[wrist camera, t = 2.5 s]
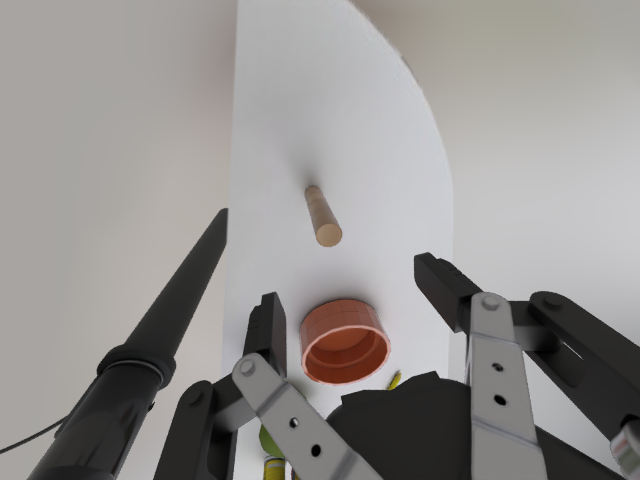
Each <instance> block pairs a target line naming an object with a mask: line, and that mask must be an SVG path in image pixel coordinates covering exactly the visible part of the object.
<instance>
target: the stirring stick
mask: <svg viewBox="0 0 640 480" xmlns="http://www.w3.org/2000/svg"><path fill="white" fill-rule="evenodd" d="M305 198H306V202H307V206H308V209H309V213H310V217H311V221H312V224H313V228H314V232H315V236H316V239H317V241H318V243H319V244H320V245H322V246H324V247H332V246H335V245H336V244H338V243H339V242H340V240H341V238H342V230H341V228H340V226H339V224H338V222H337V220H336V218H335V216H334V214H333V213H332V211H331V209H330V207H329V205H328V203H327V201H326V199H325V197H324V195H323V193H322V191H321V190H320V188H318V187H317V186H311V187H309V188H307V190H306V191H305Z"/></svg>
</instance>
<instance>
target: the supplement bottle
mask: <svg viewBox="0 0 640 480" xmlns="http://www.w3.org/2000/svg"><path fill="white" fill-rule="evenodd" d="M263 480H285V457H283V458H279V457H274V456H269V457H267V458H266V459H265V462H264V476H263Z"/></svg>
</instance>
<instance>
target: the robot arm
mask: <svg viewBox="0 0 640 480" xmlns="http://www.w3.org/2000/svg"><path fill="white" fill-rule="evenodd" d="M414 278H415V282H416V284H417V286H418V288H419V289H420V290H421V292H422V293H423V294H424V295H425V297H426V298H427V299H428V300H429V302H430V303H431V304H432V305H433V307H434V308H435V309H436V310H437V312H438V313H439V314H440V315H441V317H442V318H443V319H444V321H445V322H446V323H447V324H448V326H449V327H450V328H451V329H452V331H453V332H454V333H458V332H461V331H463V332H464V333H465V334H466V335H467V336H466V353H465V376H464V384H463V383H461V382H458V381H454V380H450V379H443V378H439V376H438V374H437V373H436V371H432V372H428V373H425V374H421V375H417V376H413V377H411V378H410V379H408V380H406V381H405V382H403V383H402V384H400V385H398V386H397V387H395V388H394V389H392V390H362V391H358V392H354V393H351V394H347V395H343V396H341V400H342V405H340V406H339V407H337V408H336V409H335V410H334V411H333V412H332V413H331V414H330V415H329V416H328V417H327V419H326V420H324V419H323V418H322V417H321V416H320V414H319V413H318V412H317V411H316V410H315V409H314V408H313V407H312V406H311V405H310V404H309V403H308V402H307V401H306V400H305V399H304V397H303V396H302V395H301V394H300V393H299V392H298V391H297V390H296V389H295V388H294V387H293V386H292V385H291V384H290V383H289V382H285V381H284V380H283V378H287V362H286V316H285V312H284V309H283V307H282V304H281V302H280V299H279V297H278V295H277V293H276V292H272V293H268V294H264V295H262V300H261V305H259V306H255V307H254V309H253V311H252V312H251V314H250V318H249V324H248V331H247V334H246V340H245V346H244V351H243V356H242V358H241V359H240V360H239V361H238V362H237V363H236V364H235V366H234V368H233V371H232V373H230V374H229V375H227V376H226V377H224V378H222V379H221V380H219V381H217V382H216V383H214V384H211V383H210V382H209V381H206V380H202V381H199V382H196V383H195V384H193V385H192V386H190V387H189V388H188V389H187V390H186V391H185V392H184V393H183V395H182V396H181V398H180V400H179V402H178V405H177V408H176V411H175V414H174V417H173V420H172V423H171V426H170V429H169V433H168V435H167V438H166V442H165V445H164V448H163V451H162V454H161V457H160V460H159V463H158V466H157V469H156V472H155V475H154V478H153V480H233V472H234V463H235V453H236V443H237V433H238V428H239V427H241V426H242V425H244V424H245V423H247V422H248V421H250V420H251V419H253V418H254V417H256V416H258V418H259V419H260V421H261V422H262V424H263V425H264V427H265V428H266V430H267V431H268V433H269V434H270V436H271V437H272V438H273V440H274V441H275V443H276V444H277V446H278V447H279V449H280V450H281V452H282V453H283V455H284V456H285V458H286V459H287V461H288V462H289V463H290V465H291V466H292V468H293V469H294V471H295V472H296V474H297V475H298V477H299V478H300V479H299V480H640V347H639V346H637V345H636V344H634V343H633V342H631V341H630V340H628V339H627V338H626V337H624V336H623V335H621V334H620V333H618V332H617V331H615V330H614V329H612V328H611V327H609V326H608V325H607V324H605V323H604V322H602V321H601V320H599V319H598V318H596V317H595V316H593V315H592V314H590V313H589V312H587V311H586V310H585V309H583V308H582V307H580V306H579V305H577V304H576V303H574V302H573V301H571V300H570V299H568V298H567V297H565V296H562V295H560V294H557V293H553V292H548V291H539V292H535V293H533V294H532V295H531V297H530V300H529V301H507V300H506V299H505V298H503V297H501V296H500V295H497V294H494V293H490V292H484V291H482V290H481V289H480V288H479V287H478V286H477V285H475V284H474V283H473V282H472V281H471V280H470V279H469V278H467V277H466V276H465V275H464V274H462V272H461V271H459V270H457V268H456V267H455V266H454V265H452V264H451V263H450V262H448V261H446V260H443V259H441V258H440V259H436V258H435V257H434V256H433V255H432V254H431V253H429V252H426V253H423V254H419V255H415V256H414ZM563 342H565V343H566V344H567V345H568V346H569V347H570V348H571V349H573V350H574V351H575V352H576V353H577V354H578V355H579V356H581V358H582V359H581V358H580V357H579V356H578V355H577V354H576V353H575V352H573V351H572V350H571V349H570V348H569V347H568V346H566V345H565V344H564V343H563ZM522 350H523V351H525V353H526V354H527V355H528V356H529V357H530V358H531V359H532V360H533V361H534V362H535V363H536V364H537V365H538V366H539V367H540V368H541V369H542V370H543V372H544V373H545V374H546V375H547V376H548V377H549V378H550V379H551V380H552V381H553V382H554V383H555V384H556V385H557V386H558V387H559V388H560V389H561V390H562V391H563V392H564V394H565V395H566V396H567V397H568V398H569V399H570V400H571V401H572V402H573V403H574V404H575V405H576V406H577V407H578V408H579V409H580V410H581V412H582V413H583V414H584V415H585V416H586V417H587V418H588V419H589V420H590V421H591V422H592V423H593V424H594V425H595V426H596V427H597V428H598V429H599V430H600V432H601V433H602V434H603V435H604V436H605V437H606V438H607V439H608V440H609V441H610V450H611V453H612V455H613V458H614V459H615V461H616V462H617V464H618V465H619V466H620V470H621V472H622V474H623V475H624V477H625V478H626V479H625V478H624V477H622V476H621V475H619V474H618V473H616V472H614V471H612V470H610V469H609V468H607V467H606V466H604V465H602V464H601V463H599V462H597V461H595V460H594V459H592V458H590V457H589V456H587V455H585V454H584V453H582V452H580V451H579V450H577V449H575V448H573V447H572V446H570V445H568V444H567V443H565V442H563V441H562V440H560V439H558V438H557V437H555V436H553V435H551V434H550V433H548V432H546V431H545V430H543V429H541V428H540V427H538V426H536V425H535V424H534V420H533V413H532V408H531V401H530V395H529V389H528V383H527V377H526V371H525V365H524V359H523V353H522ZM163 380H164V373H163V371H162V370H161V369H160V368H159V367H158V366H157V365H155V364H154V363H152V362H149V361H146V360H142V359H135V358H127V359H120V360H117V361H114V362H112V363H111V364H109V365H108V366H107V367H106V369H105V370H104V371H101V372H100V373H99V374H98V375H97V377H96V378H95V379H94V381H93V383H92V384H91V385H90V386H89V388H88V389H87V391H86V392H85V393H84V394H83V396H82V397H81V399H80V400H79V402H78V403H77V404H76V405H75V407H74V408H73V410H72V411H71V412H70V414H68V415H67V416H65V417H64V418H62V419H61V420H59V421H57V422H56V423H54V424H53V425H51V426H49V427H47V428H45V429H44V430H42V431H40V432H38V433H36V434H34V435H32V436H30V437H28V438H26V439H24V440H22V441H20V442H18V443H15V444H13V445H11V446H8V447H6V448H4V449H2V450H0V454H2V453H5V452H7V451H9V450H12V449H14V448H16V447H18V446H20V445H22V444H25V443H27V442H29V441H31V440H33V439H35V438H37V437H39V436H41V435H43V434H44V433H46V432H48V431H50V430H51V429H53V428H55V427H57V426H58V425H60V424H61V426H60V427H59V429H58V430H57V431H56V433H55V435H54V438H55V441H54V442H53V444H52V445H51V446H50V448H49V449H48V450H47V452H46V453H45V455H44V456H43V458H42V459H41V460H40V462H39V463H38V465H37V466H36V467H35V469H34V470H33V471H32V473H31V474H30V476H29V477H28V479H27V480H116V479H117V477H118V475H119V473H120V470H121V468H122V466H123V464H124V462H125V459H126V457H127V455H128V453H129V451H130V449H131V447H132V445H133V443H134V440H135V438H136V436H137V434H138V432H139V430H140V428H141V426H142V423H143V421H144V419H145V417H146V415H147V413H148V412H149V411H150V410H151V409H152V408H153V405H154V403H155V402H154V403H153V404H152V402H153V400H154V398H155V396H156V394H157V391H158V389H159V387H160V386H161V384H162V382H163ZM151 404H152V405H151Z"/></svg>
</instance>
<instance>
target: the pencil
mask: <svg viewBox="0 0 640 480" xmlns="http://www.w3.org/2000/svg"><path fill="white" fill-rule="evenodd" d="M400 379H401V373H400V374H398V375H396V377H395V379H394V380H393V382H392V384H391V386H390V387H389V389H388V390H392V389H394V388H395V387H396V386H397V384H398V382H399V380H400Z"/></svg>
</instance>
